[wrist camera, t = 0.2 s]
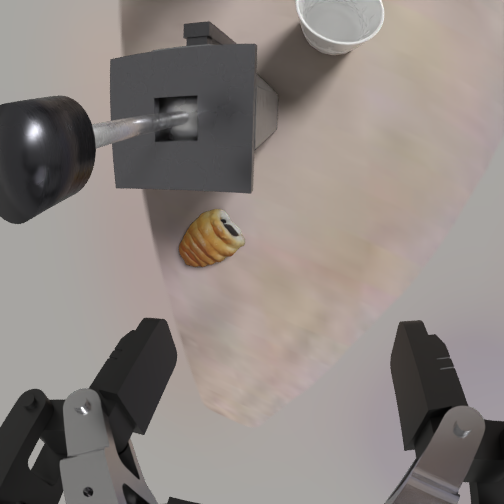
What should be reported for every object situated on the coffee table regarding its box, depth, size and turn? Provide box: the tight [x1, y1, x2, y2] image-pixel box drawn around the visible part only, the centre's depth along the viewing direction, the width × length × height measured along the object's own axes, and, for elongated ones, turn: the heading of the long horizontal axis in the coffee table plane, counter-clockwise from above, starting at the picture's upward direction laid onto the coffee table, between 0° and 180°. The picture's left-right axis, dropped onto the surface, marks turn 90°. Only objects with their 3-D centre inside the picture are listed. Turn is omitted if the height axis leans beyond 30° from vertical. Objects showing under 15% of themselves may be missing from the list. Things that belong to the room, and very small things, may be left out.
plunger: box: [0, 96, 198, 224], centre depth 13 cm, size 8×8×15 cm
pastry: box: [179, 209, 245, 267], centre depth 42 cm, size 9×7×4 cm
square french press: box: [110, 22, 278, 193], centre depth 26 cm, size 13×10×19 cm
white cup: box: [296, 0, 384, 55], centre depth 24 cm, size 8×8×10 cm
